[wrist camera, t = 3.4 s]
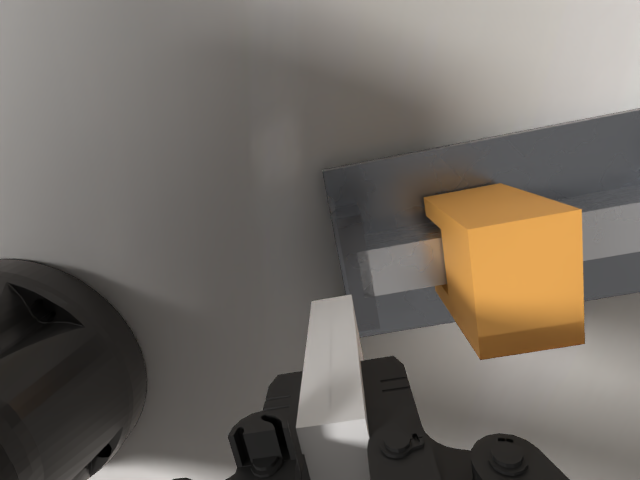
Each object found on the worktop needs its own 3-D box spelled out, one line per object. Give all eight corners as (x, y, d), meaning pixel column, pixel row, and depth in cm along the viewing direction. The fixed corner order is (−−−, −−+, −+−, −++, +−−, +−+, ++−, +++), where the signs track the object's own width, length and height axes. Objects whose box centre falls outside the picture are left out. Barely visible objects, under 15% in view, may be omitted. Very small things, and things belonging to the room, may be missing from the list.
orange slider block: (435, 290, 23) (480, 359, 16) (423, 197, 21) (467, 229, 14) (507, 278, 22) (584, 343, 16) (500, 182, 21) (582, 209, 14)
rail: (353, 329, 25) (364, 421, 17) (322, 169, 22) (319, 191, 14) (765, 262, 23) (985, 330, 15) (785, 79, 20) (1061, 50, 13)
